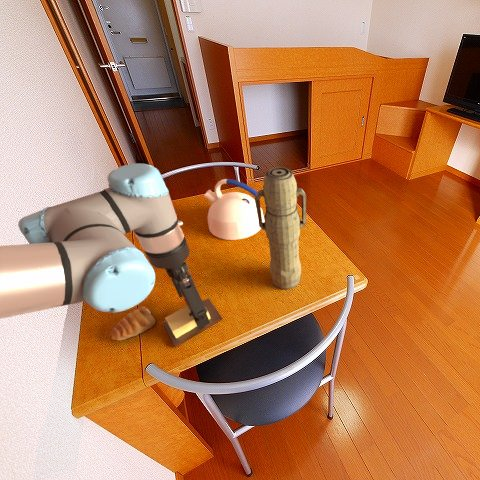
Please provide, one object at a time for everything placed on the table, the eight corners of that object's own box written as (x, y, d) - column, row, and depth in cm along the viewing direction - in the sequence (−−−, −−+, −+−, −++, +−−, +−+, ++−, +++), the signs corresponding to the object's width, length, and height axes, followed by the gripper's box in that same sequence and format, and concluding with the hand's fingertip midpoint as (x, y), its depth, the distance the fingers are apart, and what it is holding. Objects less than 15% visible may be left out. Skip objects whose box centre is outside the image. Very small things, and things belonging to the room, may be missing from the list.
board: (175, 347, 65) (174, 345, 65) (164, 324, 70) (162, 322, 69) (222, 319, 72) (221, 317, 71) (209, 300, 76) (208, 298, 75)
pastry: (119, 349, 64) (111, 341, 62) (108, 332, 68) (100, 323, 65) (159, 323, 70) (153, 314, 68) (147, 308, 73) (141, 299, 71)
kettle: (223, 204, 112) (214, 163, 100) (272, 212, 109) (268, 170, 97) (197, 235, 97) (182, 190, 85) (252, 244, 94) (245, 199, 82)
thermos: (264, 271, 85) (249, 165, 62) (301, 264, 88) (300, 161, 65) (268, 293, 78) (253, 184, 56) (308, 285, 81) (309, 178, 58)
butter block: (176, 338, 66) (172, 331, 64) (168, 324, 69) (164, 317, 67) (200, 324, 69) (197, 317, 67) (192, 311, 72) (189, 304, 70)
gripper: (208, 267, 50) (230, 332, 64) (164, 209, 63) (190, 274, 77) (165, 287, 46) (198, 352, 60) (127, 221, 59) (162, 287, 73)
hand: (194, 308), depth 68 cm, fingers open, 11 cm apart
